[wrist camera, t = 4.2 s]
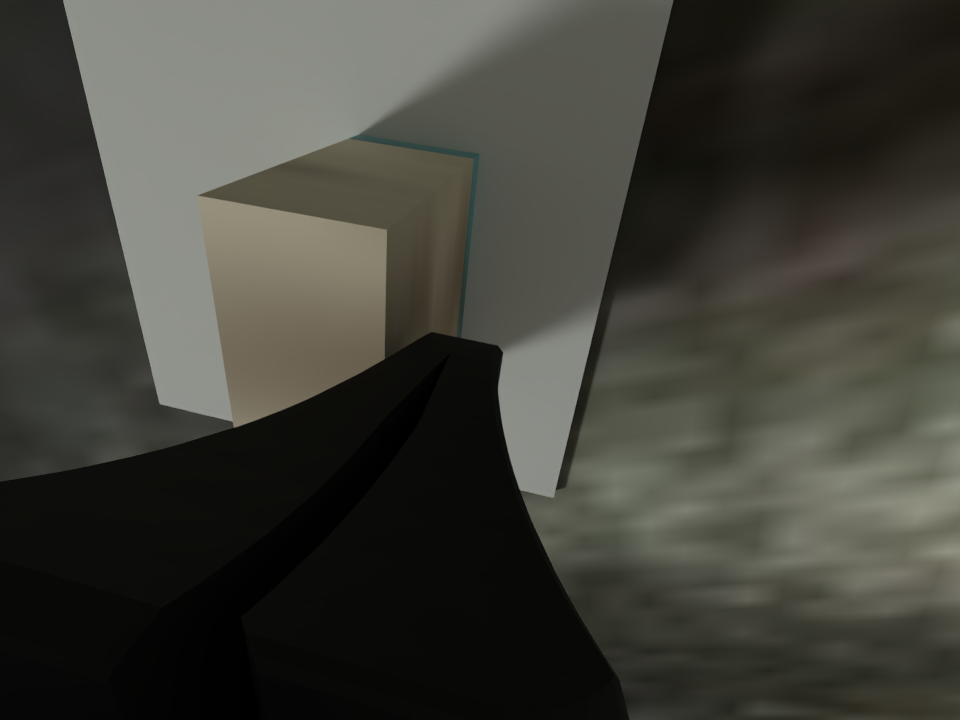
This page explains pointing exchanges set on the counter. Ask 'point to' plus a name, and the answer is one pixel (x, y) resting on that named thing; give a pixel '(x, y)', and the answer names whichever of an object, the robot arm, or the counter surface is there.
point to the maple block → (335, 264)
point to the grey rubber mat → (388, 115)
